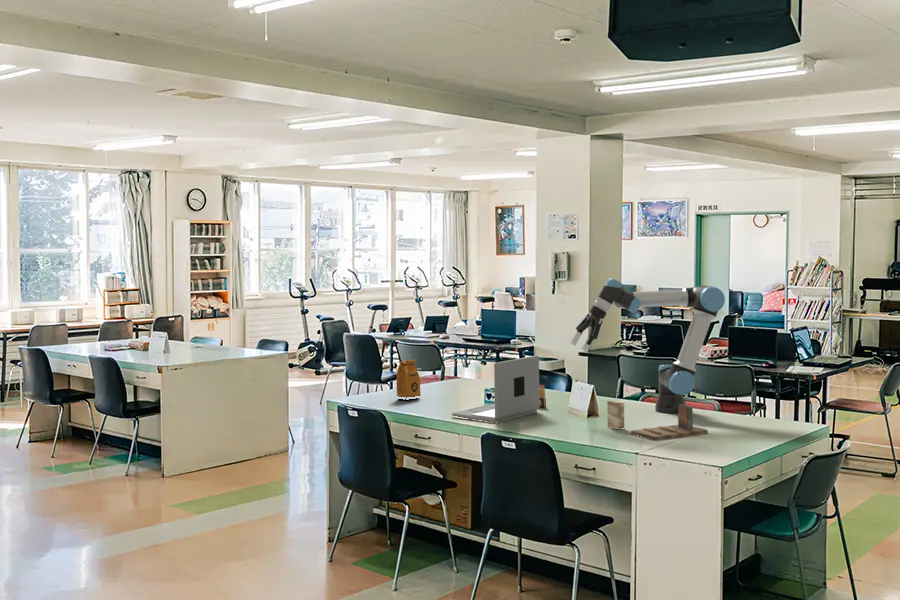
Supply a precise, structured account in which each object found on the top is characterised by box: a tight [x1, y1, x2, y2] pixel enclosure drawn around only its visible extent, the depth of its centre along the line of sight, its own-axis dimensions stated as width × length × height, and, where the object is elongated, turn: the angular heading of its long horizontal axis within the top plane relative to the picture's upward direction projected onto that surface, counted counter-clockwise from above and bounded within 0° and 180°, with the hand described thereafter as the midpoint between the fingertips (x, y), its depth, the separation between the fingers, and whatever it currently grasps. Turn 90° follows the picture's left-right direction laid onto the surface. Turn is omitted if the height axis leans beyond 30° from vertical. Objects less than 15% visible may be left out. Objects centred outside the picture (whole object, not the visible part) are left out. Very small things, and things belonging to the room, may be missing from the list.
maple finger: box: [606, 399, 625, 430], centre depth 403 cm, size 4×7×12 cm, turn 26°
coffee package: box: [395, 359, 422, 398], centre depth 493 cm, size 10×12×22 cm
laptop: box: [451, 355, 540, 424], centre depth 440 cm, size 36×28×29 cm
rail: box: [630, 404, 709, 441], centre depth 389 cm, size 29×16×12 cm, turn 116°
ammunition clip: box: [539, 384, 547, 409], centre depth 463 cm, size 11×2×12 cm, turn 44°
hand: (578, 347), depth 428 cm, fingers open, 13 cm apart
